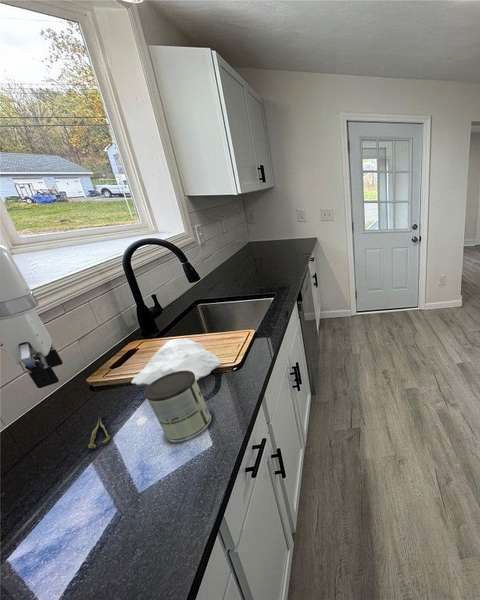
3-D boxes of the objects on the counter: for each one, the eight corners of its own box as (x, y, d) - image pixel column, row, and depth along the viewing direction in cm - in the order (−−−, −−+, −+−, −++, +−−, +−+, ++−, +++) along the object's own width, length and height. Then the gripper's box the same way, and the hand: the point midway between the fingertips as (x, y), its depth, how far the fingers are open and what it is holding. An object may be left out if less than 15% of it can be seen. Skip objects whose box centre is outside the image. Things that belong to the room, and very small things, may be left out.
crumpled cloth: (132, 419, 83) (124, 390, 80) (133, 363, 109) (128, 339, 106) (230, 391, 97) (226, 365, 94) (211, 347, 123) (207, 326, 120)
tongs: (106, 417, 87) (103, 411, 86) (113, 443, 79) (109, 437, 78) (86, 425, 84) (83, 420, 83) (91, 453, 76) (87, 447, 75)
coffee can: (159, 431, 81) (137, 387, 75) (201, 407, 88) (184, 365, 82) (175, 449, 75) (153, 403, 69) (218, 422, 82) (201, 378, 77)
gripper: (-8, 301, 68) (33, 367, 74) (-32, 326, 56) (20, 402, 62) (41, 291, 72) (76, 354, 79) (29, 312, 60) (71, 384, 67)
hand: (51, 375), depth 71 cm, fingers open, 9 cm apart
